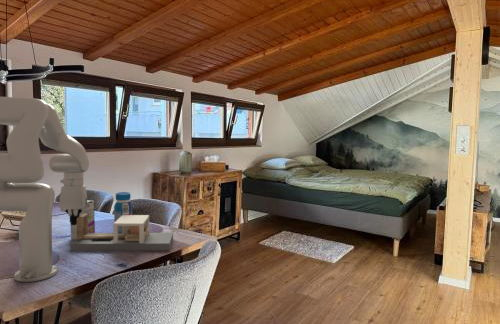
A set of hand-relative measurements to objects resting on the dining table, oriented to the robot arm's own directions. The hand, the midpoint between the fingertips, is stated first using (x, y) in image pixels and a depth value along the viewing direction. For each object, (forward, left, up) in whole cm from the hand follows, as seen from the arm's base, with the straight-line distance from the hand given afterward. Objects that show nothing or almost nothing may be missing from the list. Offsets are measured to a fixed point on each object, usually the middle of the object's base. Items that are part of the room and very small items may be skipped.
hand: (74, 224), depth 150 cm
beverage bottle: (+17, -16, -9) cm, 25 cm away
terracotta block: (0, -26, -5) cm, 27 cm away
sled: (0, -17, -6) cm, 17 cm away
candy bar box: (+12, +1, -9) cm, 15 cm away
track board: (0, -21, -9) cm, 23 cm away
